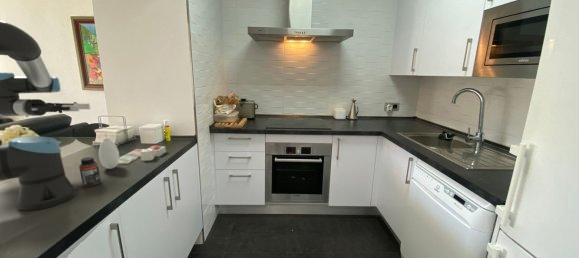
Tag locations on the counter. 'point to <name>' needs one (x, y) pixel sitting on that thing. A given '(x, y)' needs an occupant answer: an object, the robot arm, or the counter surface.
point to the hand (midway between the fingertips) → (83, 107)
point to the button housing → (159, 151)
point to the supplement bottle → (89, 172)
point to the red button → (155, 147)
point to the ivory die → (147, 154)
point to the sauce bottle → (108, 153)
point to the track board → (130, 157)
